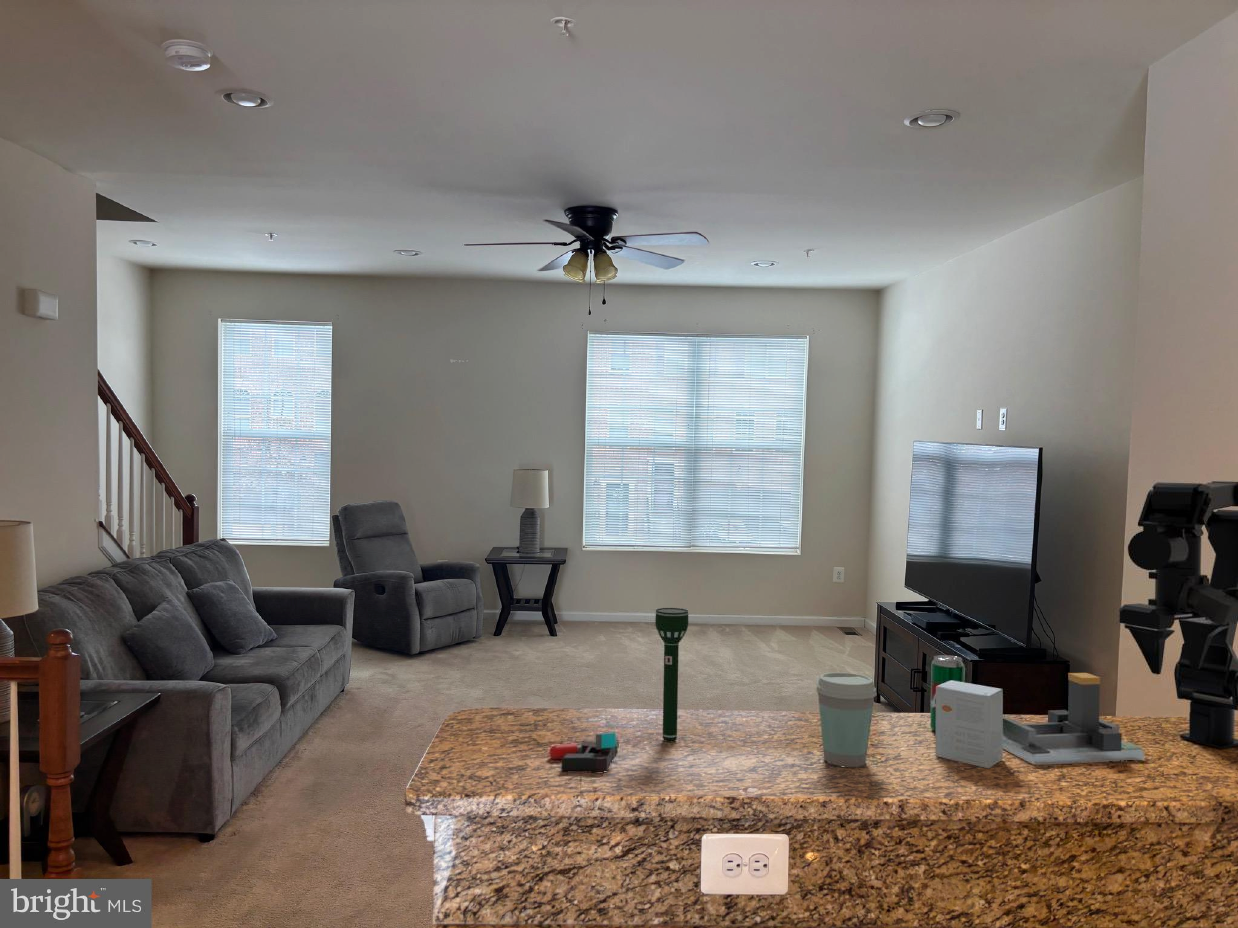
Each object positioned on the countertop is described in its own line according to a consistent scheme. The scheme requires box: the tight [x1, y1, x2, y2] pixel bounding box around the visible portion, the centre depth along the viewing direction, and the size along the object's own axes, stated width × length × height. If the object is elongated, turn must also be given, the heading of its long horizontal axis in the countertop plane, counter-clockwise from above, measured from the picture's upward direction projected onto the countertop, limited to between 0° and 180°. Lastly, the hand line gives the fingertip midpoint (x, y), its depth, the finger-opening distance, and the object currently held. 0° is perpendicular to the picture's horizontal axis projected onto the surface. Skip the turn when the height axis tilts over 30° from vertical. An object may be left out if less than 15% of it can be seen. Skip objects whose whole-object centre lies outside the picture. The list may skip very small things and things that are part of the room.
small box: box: [935, 680, 1004, 769], centre depth 129 cm, size 8×6×10 cm
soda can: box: [929, 654, 966, 733], centre depth 142 cm, size 5×5×12 cm
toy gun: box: [548, 731, 620, 773], centre depth 126 cm, size 10×12×5 cm
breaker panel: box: [1003, 709, 1145, 766], centre depth 134 cm, size 18×13×4 cm
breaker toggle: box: [1063, 672, 1104, 734], centre depth 135 cm, size 4×4×9 cm
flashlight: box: [655, 607, 689, 743], centre depth 135 cm, size 5×5×20 cm
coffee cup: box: [815, 671, 877, 768], centre depth 127 cm, size 8×9×12 cm
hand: (1176, 671), depth 130 cm, fingers open, 9 cm apart
